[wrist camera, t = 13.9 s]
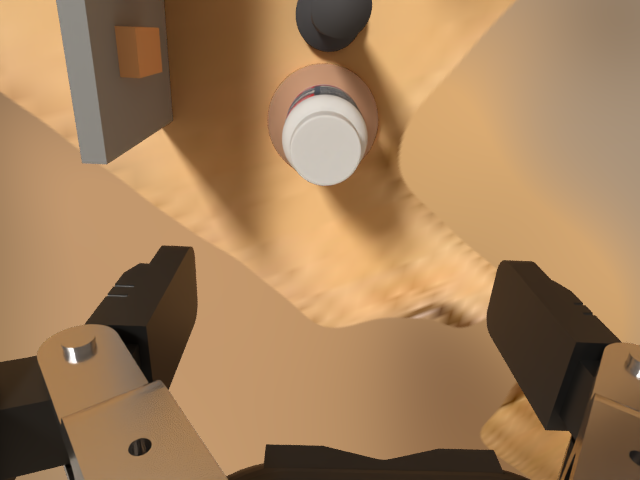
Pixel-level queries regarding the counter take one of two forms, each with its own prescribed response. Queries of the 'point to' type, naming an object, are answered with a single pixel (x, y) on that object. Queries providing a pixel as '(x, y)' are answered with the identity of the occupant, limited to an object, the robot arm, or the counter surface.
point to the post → (331, 22)
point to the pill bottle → (324, 135)
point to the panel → (116, 73)
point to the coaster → (315, 77)
